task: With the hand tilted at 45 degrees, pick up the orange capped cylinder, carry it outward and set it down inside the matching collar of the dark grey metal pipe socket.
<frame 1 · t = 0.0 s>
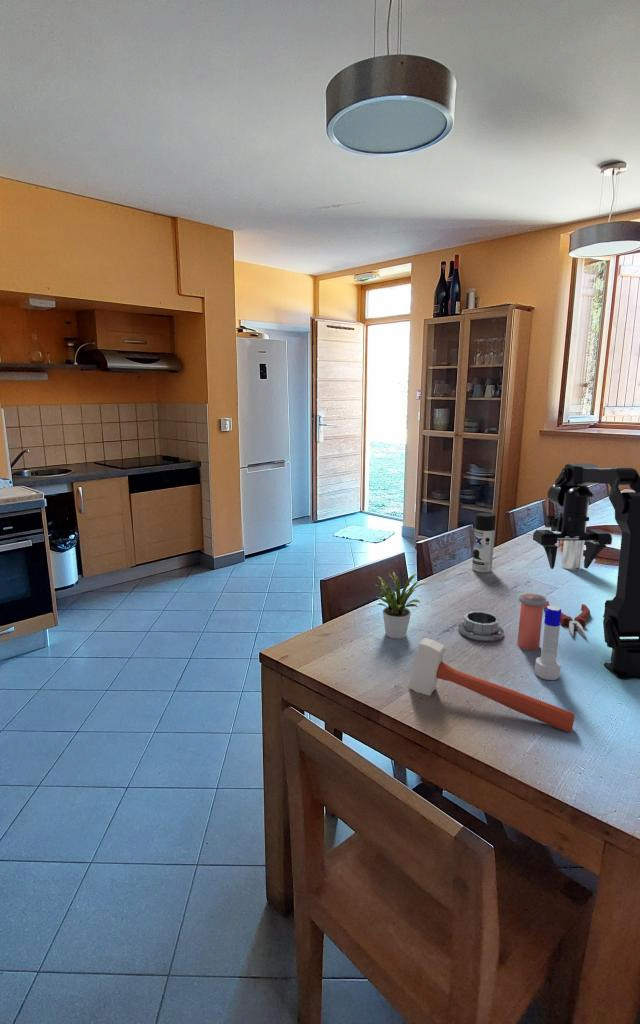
hand: (568, 568, 142), 15 cm above the table, fingers open, 9 cm apart
orange capped cylinder: (528, 645, 130), on the table
mallet: (485, 708, 105), on the table
pliers: (563, 622, 145), on the table
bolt: (546, 675, 116), on the table
spray can: (481, 570, 187), on the table
house plant: (401, 634, 137), on the table
pipe socket: (480, 632, 137), on the table
air filter: (571, 568, 190), on the table
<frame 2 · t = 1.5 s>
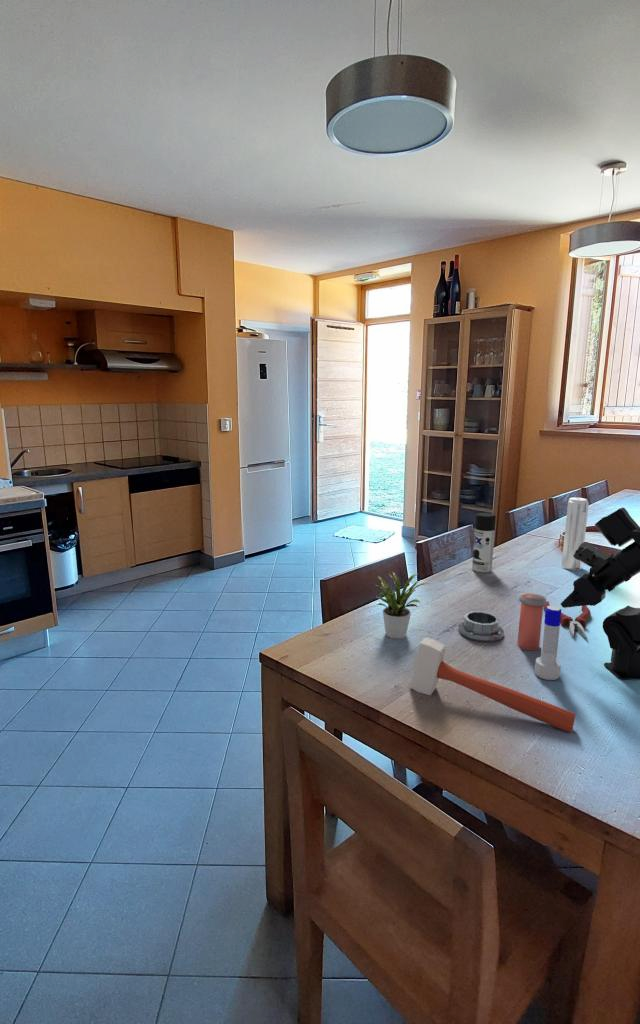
hand: (568, 600, 123), 13 cm above the table, fingers open, 9 cm apart
nothing on the table moved.
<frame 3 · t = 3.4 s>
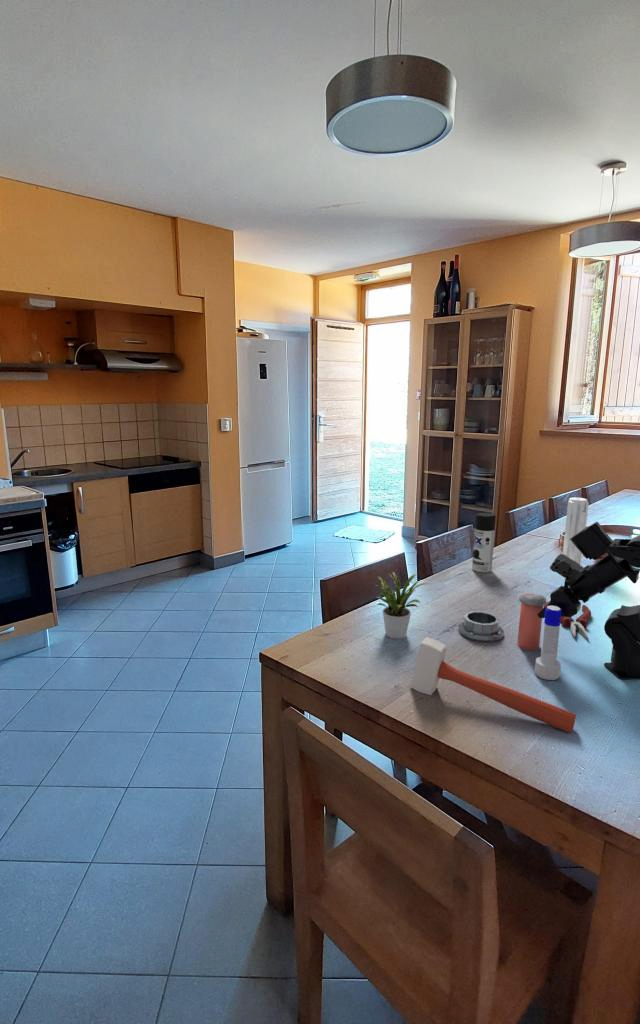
hand: (544, 610, 127), 10 cm above the table, fingers open, 9 cm apart
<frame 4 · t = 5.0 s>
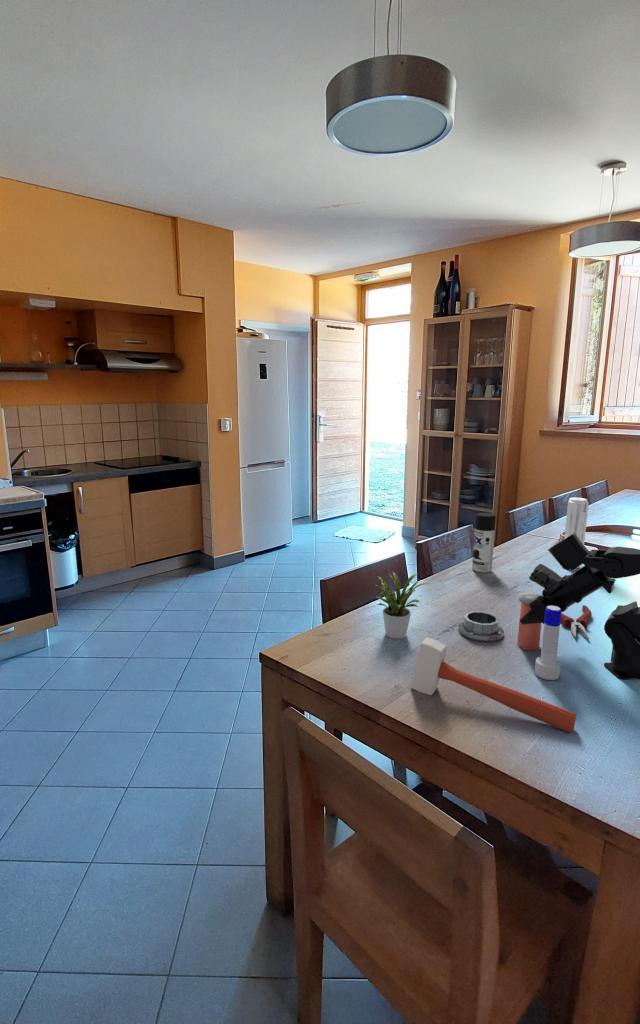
hand: (524, 618, 130), 7 cm above the table, fingers closed on orange capped cylinder, 5 cm apart
orange capped cylinder: (528, 645, 130), on the table, touching gripper
everything else where it was.
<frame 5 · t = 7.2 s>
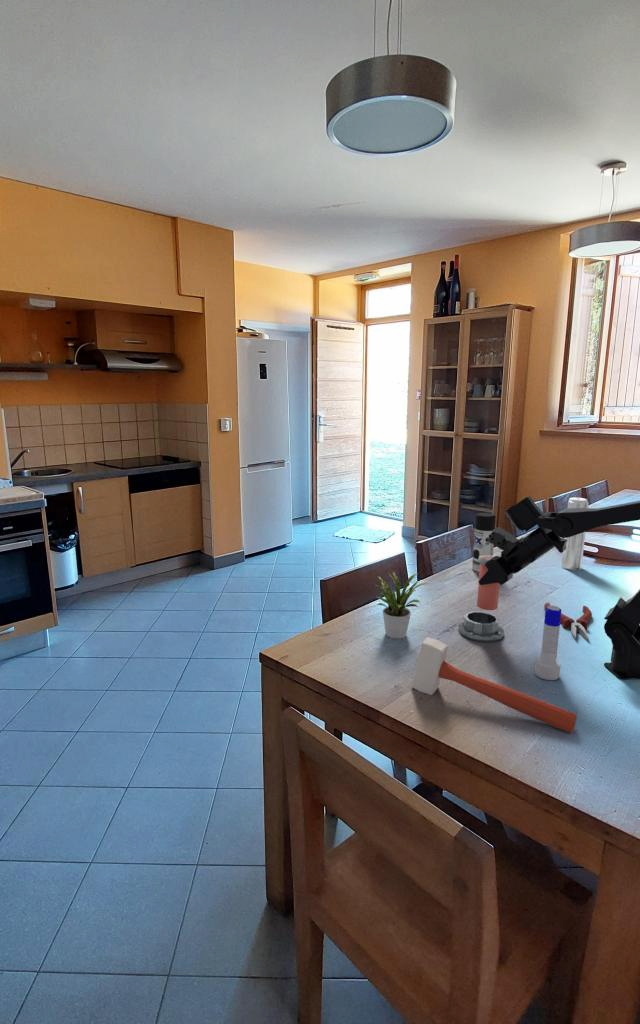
hand: (483, 580, 135), 14 cm above the table, fingers closed on orange capped cylinder, 5 cm apart
orange capped cylinder: (487, 606, 135), point 7 cm above the table, touching gripper
when the fingers open (8 cm above the table, at t = 9.3 s): orange capped cylinder stays where it is, resting on pipe socket.
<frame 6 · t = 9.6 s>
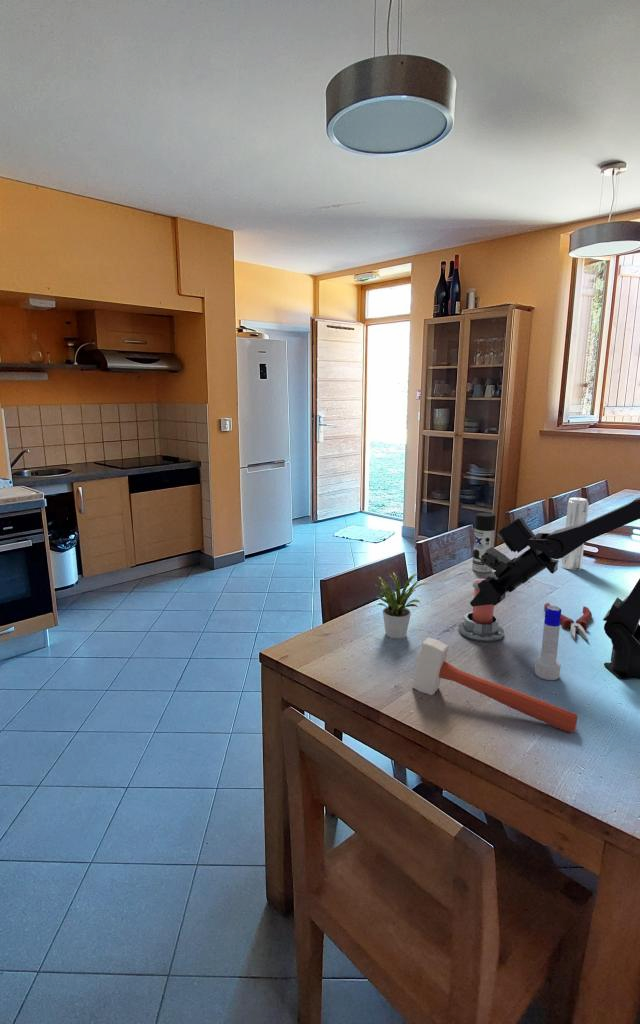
hand: (477, 599, 137), 9 cm above the table, fingers open, 8 cm apart
orange capped cylinder: (481, 628, 137), point 1 cm above the table, touching pipe socket
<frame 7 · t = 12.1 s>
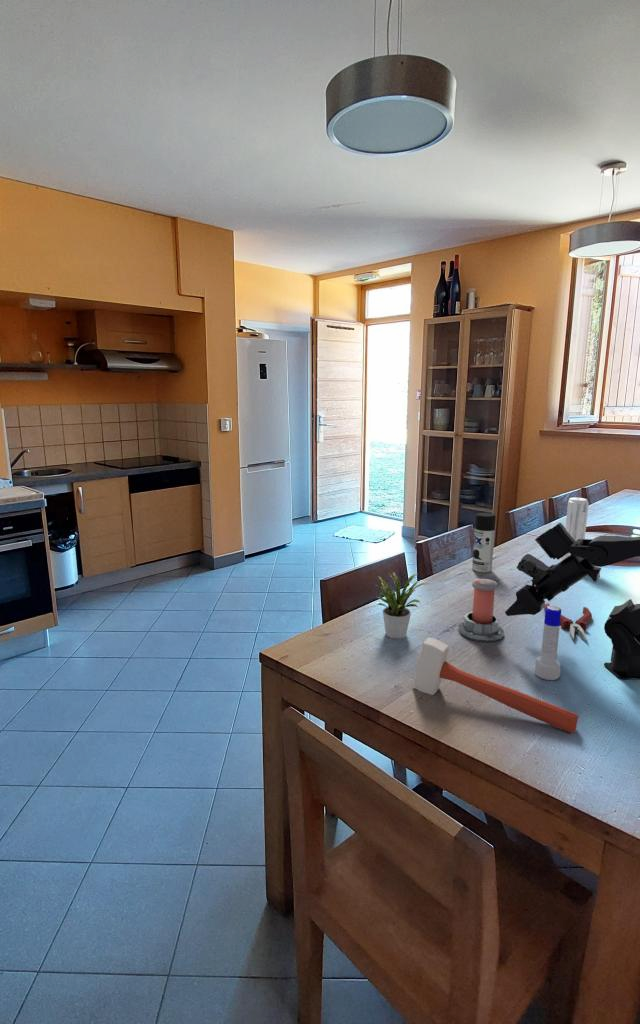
hand: (512, 608, 131), 9 cm above the table, fingers open, 9 cm apart
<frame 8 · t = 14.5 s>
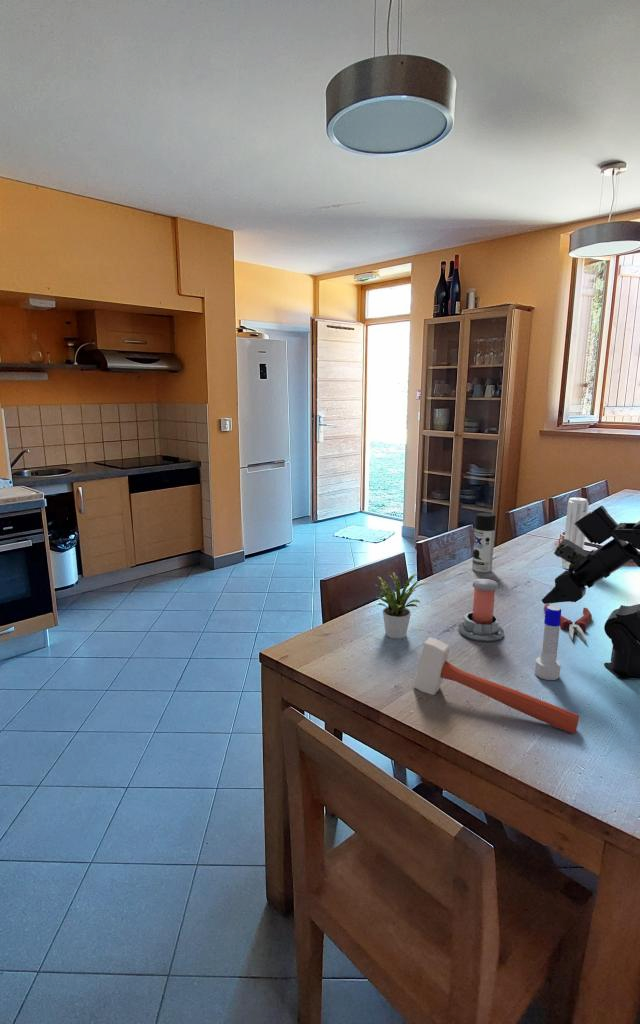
hand: (548, 596, 125), 14 cm above the table, fingers open, 9 cm apart
at the end: orange capped cylinder 0.2 cm off-centre on the pipe socket, point 1.0 cm above the pipe socket's base; orange capped cylinder tilted 0°; the gripper is holding nothing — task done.
